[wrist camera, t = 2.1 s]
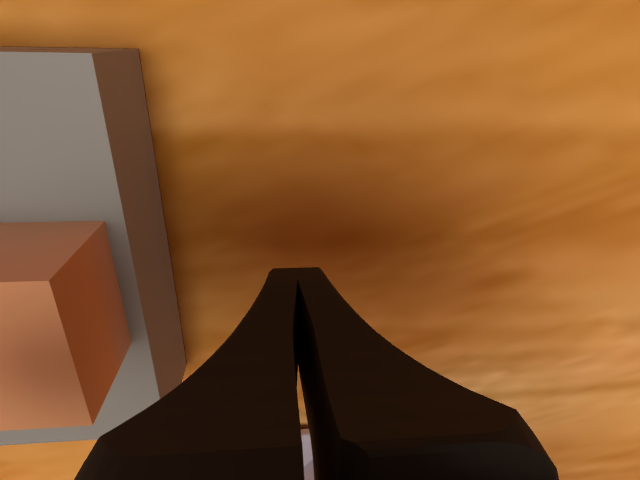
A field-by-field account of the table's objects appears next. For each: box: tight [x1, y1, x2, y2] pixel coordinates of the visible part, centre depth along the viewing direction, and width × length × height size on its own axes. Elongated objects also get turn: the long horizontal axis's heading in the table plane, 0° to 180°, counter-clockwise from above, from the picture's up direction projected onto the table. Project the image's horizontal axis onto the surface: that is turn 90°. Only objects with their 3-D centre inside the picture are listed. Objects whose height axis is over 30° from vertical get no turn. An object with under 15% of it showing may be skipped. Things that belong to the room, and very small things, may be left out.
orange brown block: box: [0, 221, 131, 431], centre depth 10 cm, size 4×4×3 cm
